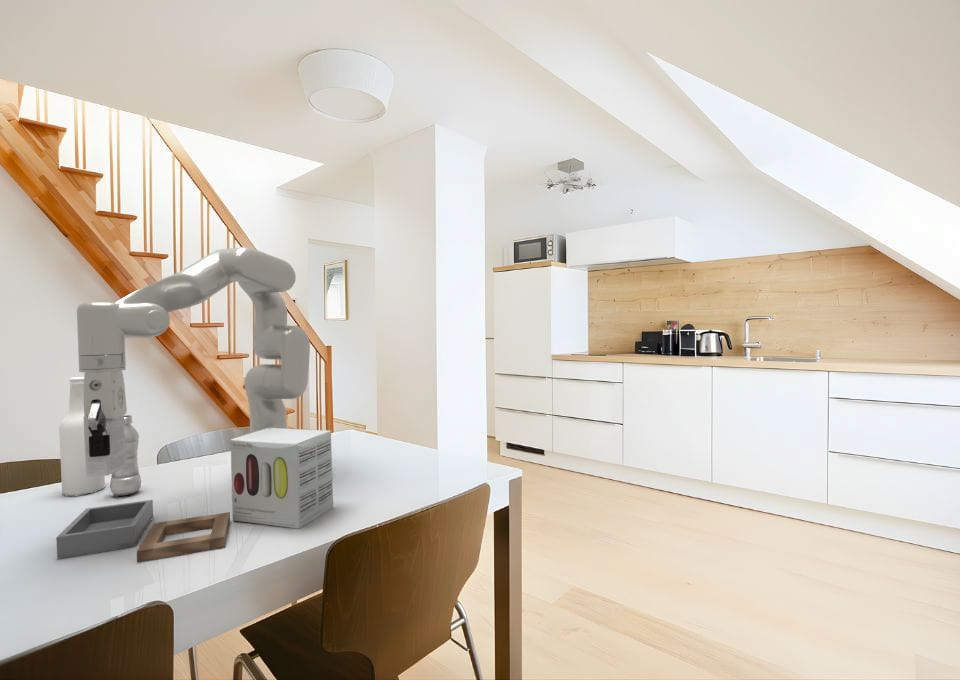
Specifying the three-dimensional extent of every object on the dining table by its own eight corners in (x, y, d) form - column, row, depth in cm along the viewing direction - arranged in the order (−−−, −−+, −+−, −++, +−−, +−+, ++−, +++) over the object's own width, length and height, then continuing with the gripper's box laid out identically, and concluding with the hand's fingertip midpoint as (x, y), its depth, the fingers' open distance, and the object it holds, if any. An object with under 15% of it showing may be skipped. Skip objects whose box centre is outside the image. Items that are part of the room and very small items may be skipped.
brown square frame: (230, 521, 107) (229, 511, 107) (224, 547, 94) (224, 536, 94) (154, 532, 102) (153, 523, 101) (137, 562, 89) (136, 551, 89)
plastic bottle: (125, 499, 122) (122, 419, 122) (103, 497, 124) (100, 418, 123) (148, 490, 129) (145, 414, 128) (126, 489, 130) (123, 414, 130)
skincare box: (105, 468, 103) (103, 410, 102) (127, 467, 103) (125, 410, 103) (84, 476, 97) (82, 416, 96) (107, 475, 97) (105, 415, 97)
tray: (153, 517, 110) (152, 499, 110) (135, 546, 95) (134, 525, 95) (87, 527, 105) (86, 508, 105) (57, 559, 91) (56, 537, 90)
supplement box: (230, 522, 106) (227, 439, 106) (271, 501, 119) (269, 426, 119) (299, 529, 102) (297, 442, 101) (335, 506, 114) (332, 429, 114)
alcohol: (81, 485, 134) (77, 375, 133) (113, 485, 134) (108, 375, 133) (52, 497, 125) (47, 379, 124) (86, 496, 125) (81, 378, 124)
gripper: (112, 365, 93) (116, 459, 93) (135, 360, 109) (138, 441, 109) (62, 367, 90) (66, 464, 90) (94, 362, 106) (97, 444, 106)
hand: (106, 450), depth 100 cm, fingers closed on skincare box, 6 cm apart
